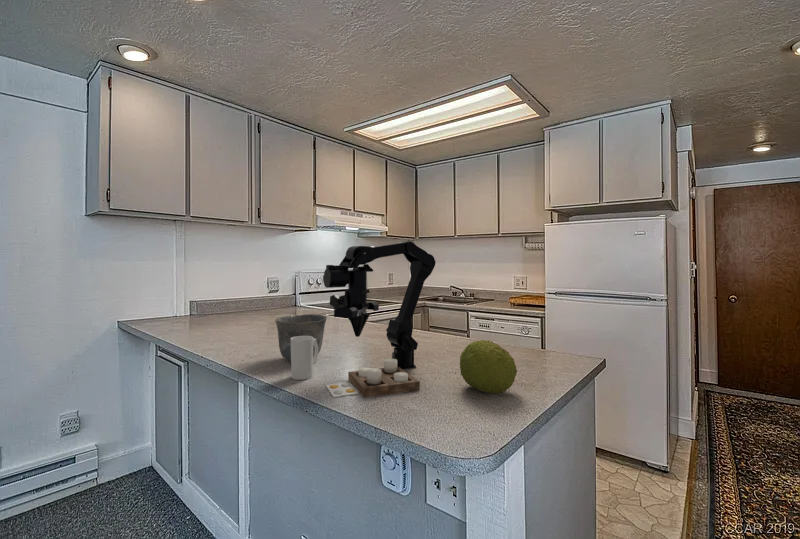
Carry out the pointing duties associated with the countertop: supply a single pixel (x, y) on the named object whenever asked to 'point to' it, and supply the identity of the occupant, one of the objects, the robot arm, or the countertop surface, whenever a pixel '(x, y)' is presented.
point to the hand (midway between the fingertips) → (357, 336)
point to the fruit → (487, 367)
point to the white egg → (362, 372)
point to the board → (383, 384)
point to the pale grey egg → (390, 365)
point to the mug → (303, 357)
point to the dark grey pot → (299, 331)
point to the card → (342, 389)
